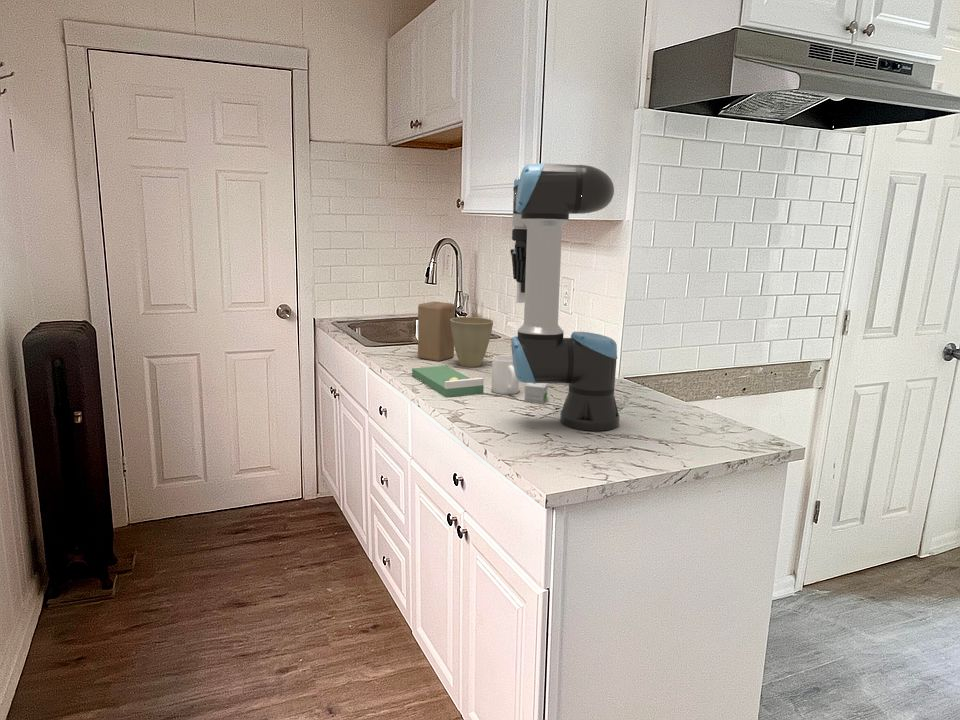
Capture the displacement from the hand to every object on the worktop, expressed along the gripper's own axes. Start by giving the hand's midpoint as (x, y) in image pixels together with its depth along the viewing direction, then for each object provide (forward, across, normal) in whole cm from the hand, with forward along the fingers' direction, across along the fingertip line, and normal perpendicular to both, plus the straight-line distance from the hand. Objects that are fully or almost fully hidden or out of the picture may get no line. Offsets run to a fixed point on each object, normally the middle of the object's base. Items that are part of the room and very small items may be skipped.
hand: (521, 302), depth 225 cm
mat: (+24, -2, +27) cm, 36 cm away
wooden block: (+25, +35, +15) cm, 45 cm away
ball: (+23, -8, +27) cm, 36 cm away
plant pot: (+25, +20, +8) cm, 33 cm away
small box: (+25, -28, +10) cm, 39 cm away
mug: (+25, -18, +14) cm, 34 cm away
